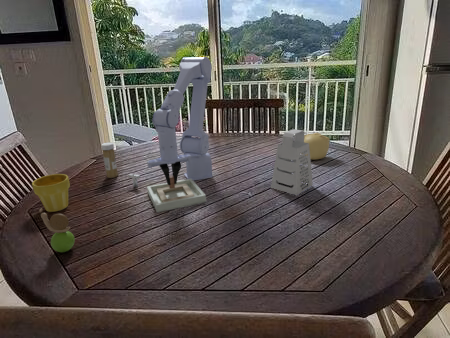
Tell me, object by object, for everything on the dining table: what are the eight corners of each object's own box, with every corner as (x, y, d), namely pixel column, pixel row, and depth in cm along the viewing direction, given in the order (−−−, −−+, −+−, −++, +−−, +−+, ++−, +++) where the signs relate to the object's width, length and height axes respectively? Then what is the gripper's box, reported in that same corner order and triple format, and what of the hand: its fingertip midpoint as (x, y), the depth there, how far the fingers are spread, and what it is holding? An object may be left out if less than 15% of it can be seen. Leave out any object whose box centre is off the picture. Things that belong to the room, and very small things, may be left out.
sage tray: (191, 184, 122) (191, 178, 121) (206, 202, 108) (205, 195, 107) (147, 193, 117) (146, 186, 116) (156, 212, 103) (156, 205, 102)
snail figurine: (54, 245, 88) (43, 204, 83) (79, 243, 88) (70, 202, 84) (45, 257, 82) (34, 214, 78) (72, 255, 83) (62, 212, 79)
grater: (312, 186, 117) (316, 130, 110) (296, 196, 110) (299, 137, 103) (287, 179, 124) (289, 126, 117) (270, 188, 117) (271, 132, 110)
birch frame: (195, 198, 110) (194, 185, 108) (163, 205, 106) (162, 191, 104) (186, 185, 119) (185, 173, 117) (156, 191, 115) (155, 178, 113)
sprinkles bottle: (119, 176, 133) (114, 143, 128) (108, 179, 130) (102, 146, 126) (116, 173, 136) (111, 141, 132) (105, 175, 134) (99, 143, 129)
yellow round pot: (331, 155, 148) (333, 131, 144) (322, 163, 138) (324, 138, 135) (306, 152, 154) (307, 129, 150) (296, 159, 144) (297, 135, 141)
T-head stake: (129, 186, 123) (127, 175, 121) (132, 184, 124) (130, 173, 123) (139, 188, 121) (137, 176, 120) (142, 186, 123) (140, 174, 121)
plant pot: (38, 218, 102) (31, 188, 99) (39, 205, 111) (32, 177, 107) (75, 209, 106) (69, 181, 103) (72, 198, 115) (67, 171, 112)
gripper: (148, 152, 104) (152, 191, 109) (192, 145, 109) (195, 183, 114) (144, 146, 111) (149, 184, 115) (186, 140, 116) (189, 177, 120)
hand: (171, 183), depth 115 cm, fingers closed on birch frame
